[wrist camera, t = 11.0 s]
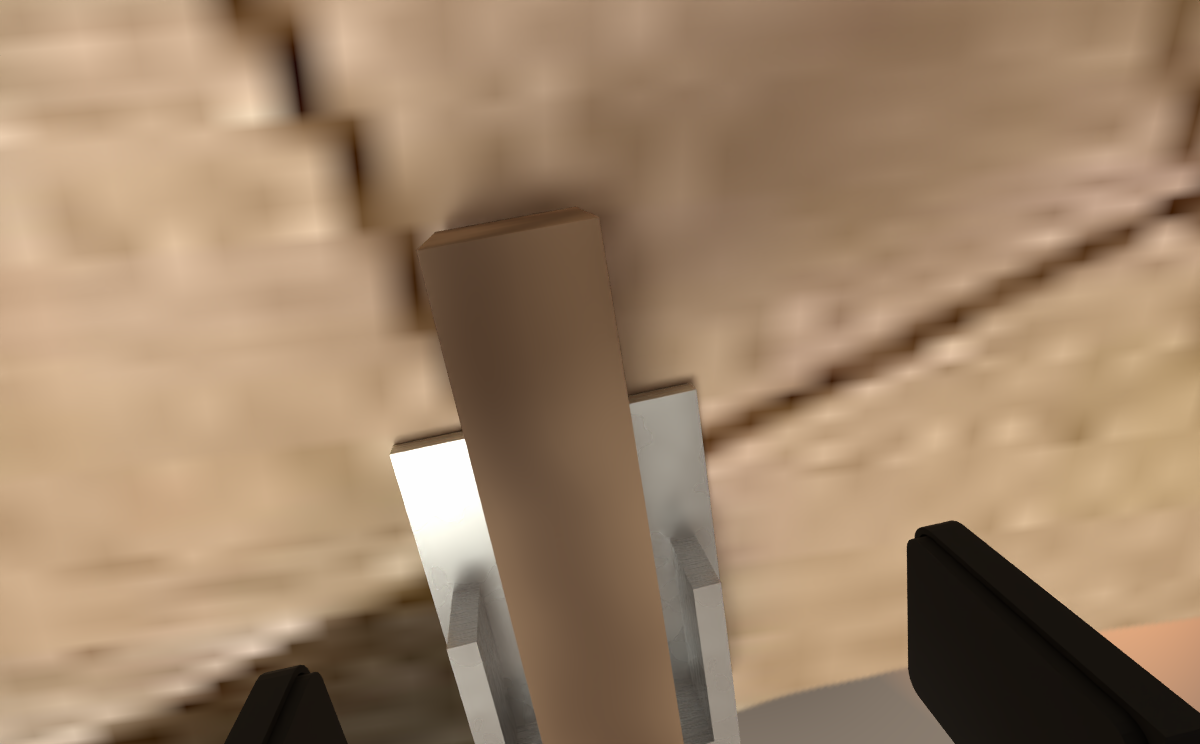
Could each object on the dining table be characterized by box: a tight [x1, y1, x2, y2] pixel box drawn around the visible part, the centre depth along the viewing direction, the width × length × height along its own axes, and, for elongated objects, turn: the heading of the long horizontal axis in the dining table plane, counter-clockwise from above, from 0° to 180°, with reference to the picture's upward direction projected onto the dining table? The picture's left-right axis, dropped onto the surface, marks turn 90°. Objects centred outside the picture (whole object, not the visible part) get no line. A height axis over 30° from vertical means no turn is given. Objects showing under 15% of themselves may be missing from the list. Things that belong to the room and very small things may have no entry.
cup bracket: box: [390, 383, 741, 744], centre depth 24 cm, size 11×14×4 cm
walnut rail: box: [416, 207, 684, 744], centre depth 21 cm, size 4×18×5 cm, turn 9°
